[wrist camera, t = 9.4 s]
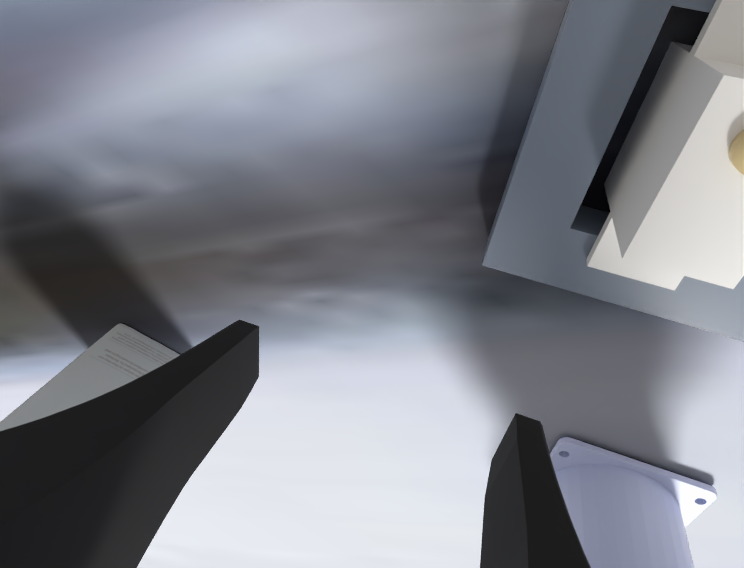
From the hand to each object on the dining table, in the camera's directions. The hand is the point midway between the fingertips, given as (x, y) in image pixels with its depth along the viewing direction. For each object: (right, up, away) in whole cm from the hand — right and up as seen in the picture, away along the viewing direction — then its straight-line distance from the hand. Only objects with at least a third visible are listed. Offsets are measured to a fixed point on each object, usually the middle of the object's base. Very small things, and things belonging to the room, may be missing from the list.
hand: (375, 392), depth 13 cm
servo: (+11, +8, +4) cm, 14 cm away
